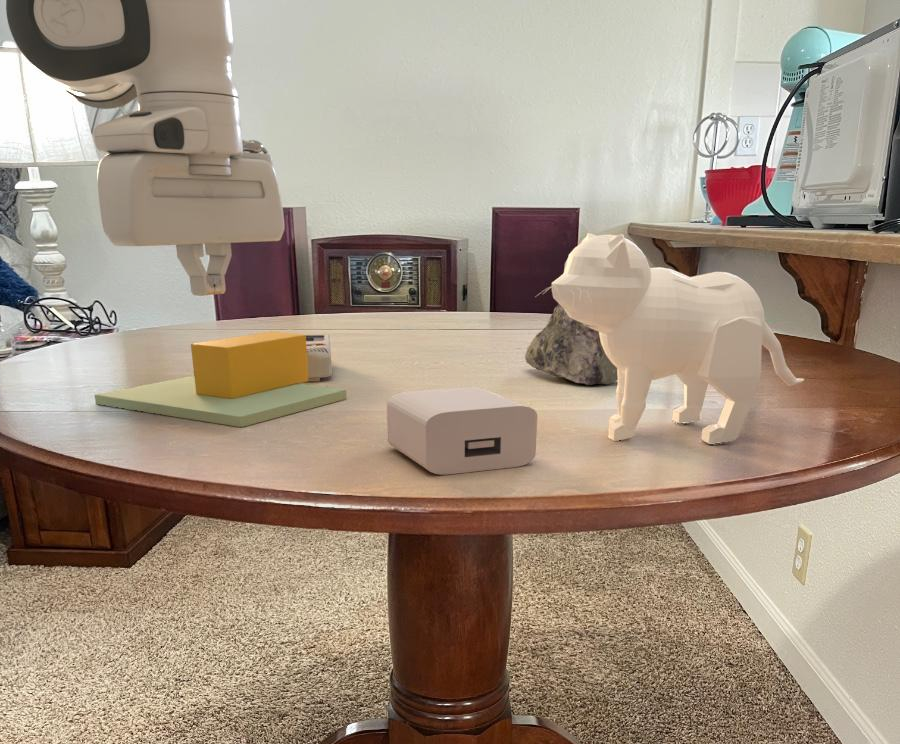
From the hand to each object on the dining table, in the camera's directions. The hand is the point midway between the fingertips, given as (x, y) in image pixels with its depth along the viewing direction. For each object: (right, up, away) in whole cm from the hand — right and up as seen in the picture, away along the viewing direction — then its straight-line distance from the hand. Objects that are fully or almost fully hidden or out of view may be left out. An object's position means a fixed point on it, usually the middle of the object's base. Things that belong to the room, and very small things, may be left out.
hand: (209, 294), depth 86 cm
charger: (+23, -17, -12) cm, 31 cm away
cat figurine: (+43, -15, -6) cm, 46 cm away
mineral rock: (+38, -3, +20) cm, 43 cm away
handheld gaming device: (+4, -2, +23) cm, 24 cm away
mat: (0, -9, +6) cm, 11 cm away
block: (0, -7, +2) cm, 7 cm away
